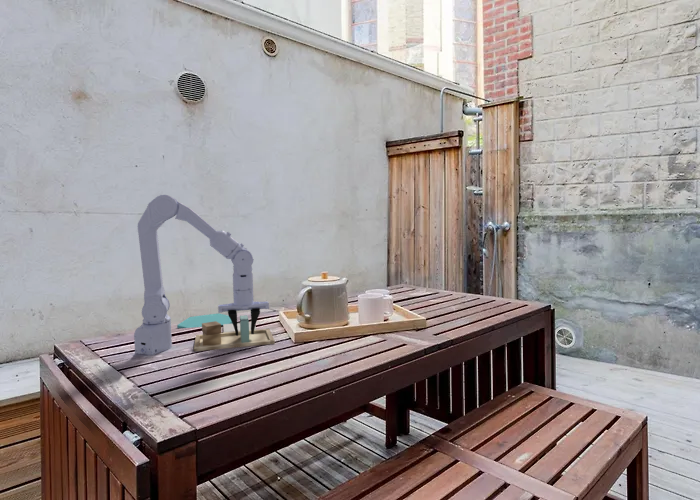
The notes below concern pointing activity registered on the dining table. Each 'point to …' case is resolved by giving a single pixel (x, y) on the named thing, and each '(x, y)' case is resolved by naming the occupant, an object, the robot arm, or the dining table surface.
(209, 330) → the offcut
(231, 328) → the tile
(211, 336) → the offcut
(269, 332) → the wooden tray
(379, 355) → the dining table surface
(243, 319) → the panel
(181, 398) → the dining table surface
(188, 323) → the plaque
